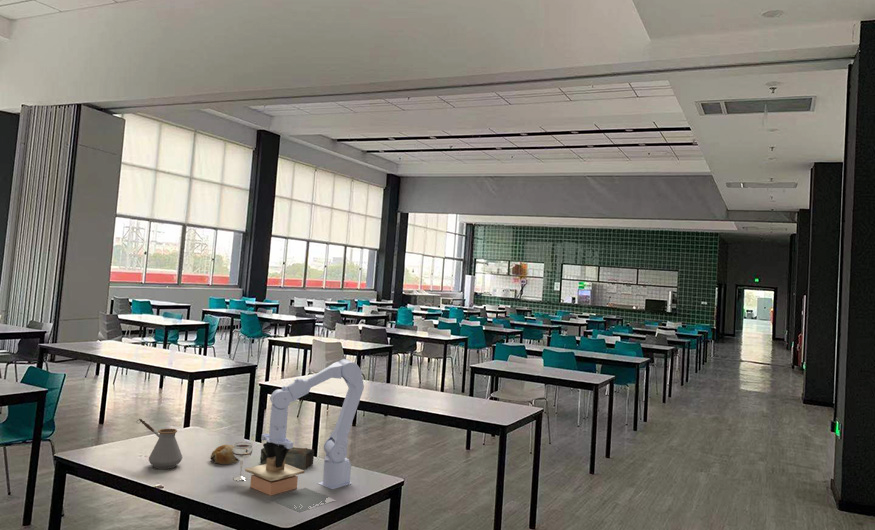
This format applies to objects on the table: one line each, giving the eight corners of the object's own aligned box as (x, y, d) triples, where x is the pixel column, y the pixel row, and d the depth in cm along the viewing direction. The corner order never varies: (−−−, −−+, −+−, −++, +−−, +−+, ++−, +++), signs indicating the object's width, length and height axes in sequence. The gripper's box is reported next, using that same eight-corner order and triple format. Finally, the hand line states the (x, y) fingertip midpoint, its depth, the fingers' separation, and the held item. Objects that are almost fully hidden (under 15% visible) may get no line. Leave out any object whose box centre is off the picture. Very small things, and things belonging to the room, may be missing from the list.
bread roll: (227, 475, 239) (238, 456, 239) (204, 461, 239) (214, 443, 239) (236, 467, 248) (246, 449, 249) (214, 454, 249) (224, 436, 249)
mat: (305, 489, 218) (305, 487, 218) (337, 501, 209) (337, 500, 209) (267, 500, 206) (267, 498, 206) (299, 513, 196) (299, 512, 196)
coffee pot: (188, 465, 236) (191, 424, 236) (163, 472, 225) (166, 430, 226) (148, 454, 245) (151, 415, 245) (122, 461, 235) (125, 420, 235)
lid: (278, 463, 226) (279, 450, 226) (304, 473, 218) (305, 459, 218) (245, 471, 215) (246, 456, 215) (270, 481, 207) (272, 466, 207)
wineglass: (254, 477, 227) (256, 443, 227) (243, 482, 220) (246, 448, 221) (237, 474, 229) (240, 441, 229) (226, 479, 222) (229, 445, 222)
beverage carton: (268, 459, 251) (269, 442, 251) (314, 464, 247) (315, 447, 247) (259, 464, 243) (260, 447, 243) (306, 470, 239) (308, 453, 240)
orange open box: (276, 481, 224) (277, 468, 224) (296, 489, 217) (297, 476, 217) (250, 488, 215) (251, 475, 215) (270, 497, 209) (271, 483, 209)
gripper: (255, 422, 218) (252, 462, 218) (282, 431, 209) (279, 472, 209) (272, 420, 224) (269, 458, 223) (299, 428, 215) (296, 468, 214)
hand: (275, 465), depth 216 cm, fingers closed on lid, 3 cm apart
